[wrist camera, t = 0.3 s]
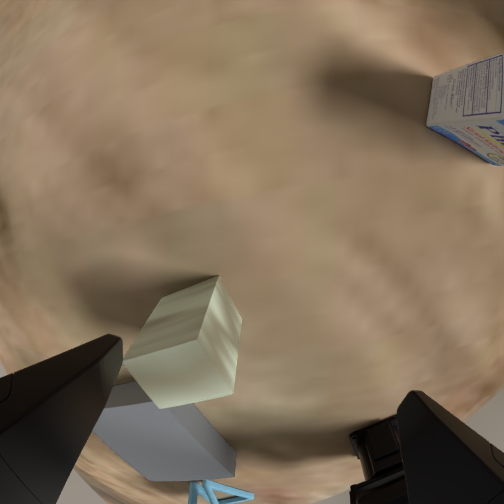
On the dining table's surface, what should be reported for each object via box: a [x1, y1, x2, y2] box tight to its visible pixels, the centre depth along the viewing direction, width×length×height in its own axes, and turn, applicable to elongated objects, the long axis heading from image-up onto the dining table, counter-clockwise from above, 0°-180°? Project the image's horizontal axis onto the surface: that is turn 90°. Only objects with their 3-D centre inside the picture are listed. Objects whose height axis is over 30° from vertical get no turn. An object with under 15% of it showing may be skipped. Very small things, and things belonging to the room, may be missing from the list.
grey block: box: [92, 381, 237, 481], centre depth 26 cm, size 14×12×4 cm
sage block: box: [122, 275, 242, 409], centre depth 18 cm, size 4×5×8 cm
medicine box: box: [426, 53, 504, 166], centre depth 13 cm, size 8×4×9 cm, turn 76°
